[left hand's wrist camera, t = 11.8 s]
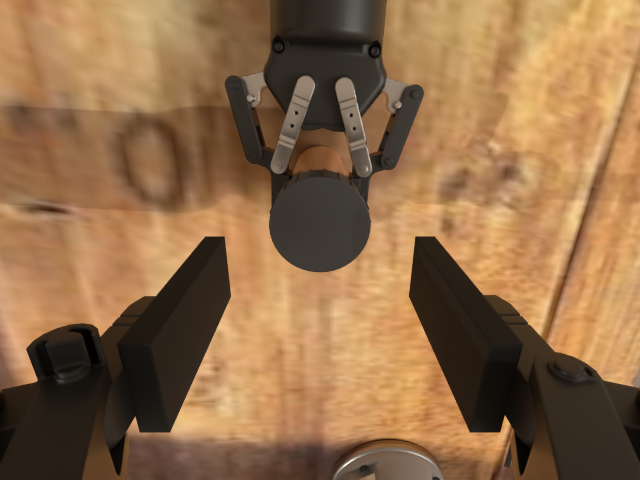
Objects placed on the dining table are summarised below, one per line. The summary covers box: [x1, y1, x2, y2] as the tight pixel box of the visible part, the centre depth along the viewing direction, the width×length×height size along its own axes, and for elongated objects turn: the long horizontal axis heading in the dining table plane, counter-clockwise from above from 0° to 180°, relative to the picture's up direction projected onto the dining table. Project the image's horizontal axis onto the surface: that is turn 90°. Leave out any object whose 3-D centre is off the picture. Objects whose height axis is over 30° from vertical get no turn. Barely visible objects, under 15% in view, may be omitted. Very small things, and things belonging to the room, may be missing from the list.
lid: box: [269, 168, 371, 272], centre depth 20 cm, size 6×6×2 cm
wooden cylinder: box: [290, 146, 349, 180], centre depth 26 cm, size 5×5×15 cm
